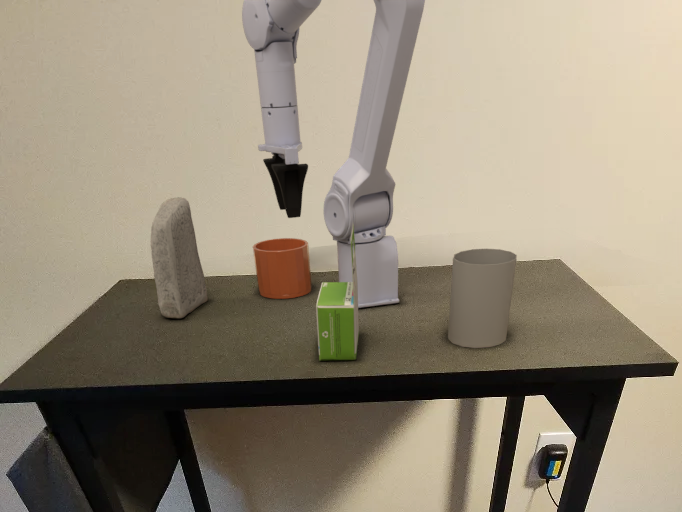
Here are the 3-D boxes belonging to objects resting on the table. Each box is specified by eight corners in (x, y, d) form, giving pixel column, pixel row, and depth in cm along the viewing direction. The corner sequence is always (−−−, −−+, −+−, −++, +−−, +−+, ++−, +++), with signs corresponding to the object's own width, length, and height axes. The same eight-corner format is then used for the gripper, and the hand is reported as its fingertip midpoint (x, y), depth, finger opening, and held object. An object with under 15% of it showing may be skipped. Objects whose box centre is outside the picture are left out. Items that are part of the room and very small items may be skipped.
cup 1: (305, 281, 108) (301, 235, 103) (316, 295, 102) (312, 247, 97) (256, 286, 107) (249, 241, 102) (263, 301, 100) (257, 253, 96)
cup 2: (469, 352, 81) (476, 268, 74) (436, 334, 86) (440, 255, 79) (518, 339, 83) (530, 257, 76) (484, 323, 89) (492, 245, 81)
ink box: (324, 335, 88) (316, 222, 78) (360, 334, 87) (356, 221, 77) (319, 362, 80) (308, 241, 70) (357, 361, 80) (352, 239, 70)
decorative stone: (188, 321, 95) (162, 207, 84) (154, 320, 96) (124, 207, 85) (213, 300, 102) (193, 193, 91) (181, 299, 103) (158, 193, 92)
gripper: (247, 105, 96) (260, 207, 105) (260, 111, 86) (273, 223, 95) (290, 102, 97) (299, 204, 106) (307, 107, 87) (316, 219, 96)
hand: (289, 213), depth 101 cm, fingers open, 7 cm apart
